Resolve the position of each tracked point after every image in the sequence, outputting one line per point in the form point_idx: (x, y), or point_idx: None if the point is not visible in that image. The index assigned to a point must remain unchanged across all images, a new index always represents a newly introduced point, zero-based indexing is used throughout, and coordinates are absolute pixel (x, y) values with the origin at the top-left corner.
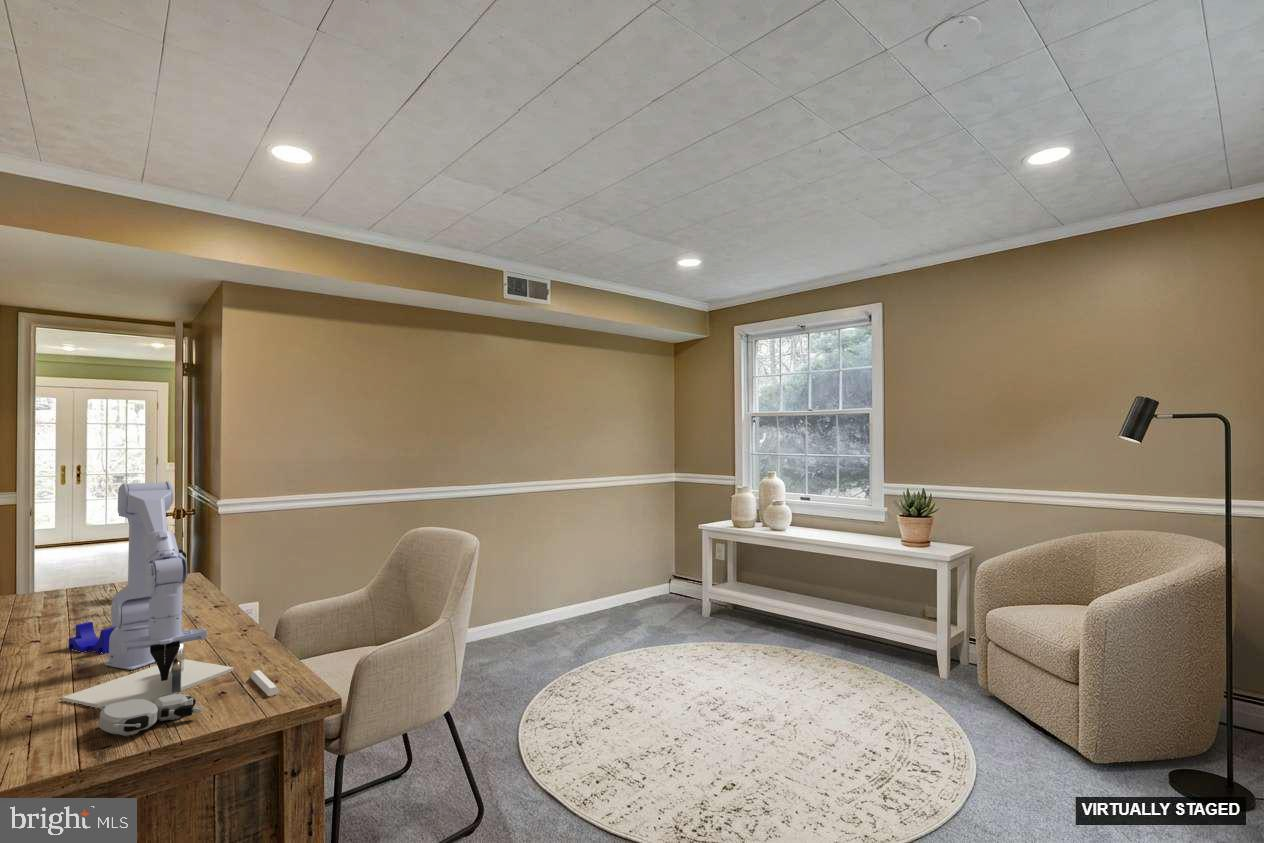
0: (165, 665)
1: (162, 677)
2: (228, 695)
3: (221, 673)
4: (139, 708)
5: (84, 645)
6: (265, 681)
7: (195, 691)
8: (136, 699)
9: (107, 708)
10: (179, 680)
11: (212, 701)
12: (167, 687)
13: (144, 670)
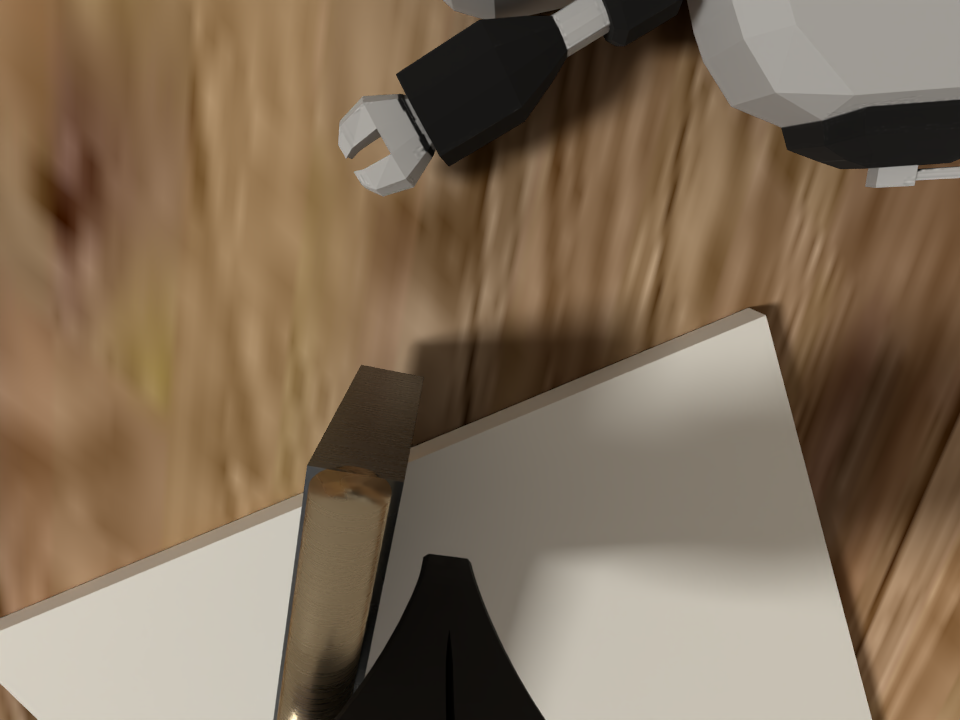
0: (442, 660)
1: (464, 574)
2: (18, 89)
3: (58, 601)
4: None
5: None
6: None
7: (260, 401)
8: (845, 57)
9: None
10: (350, 408)
11: (157, 37)
12: (418, 554)
13: None
